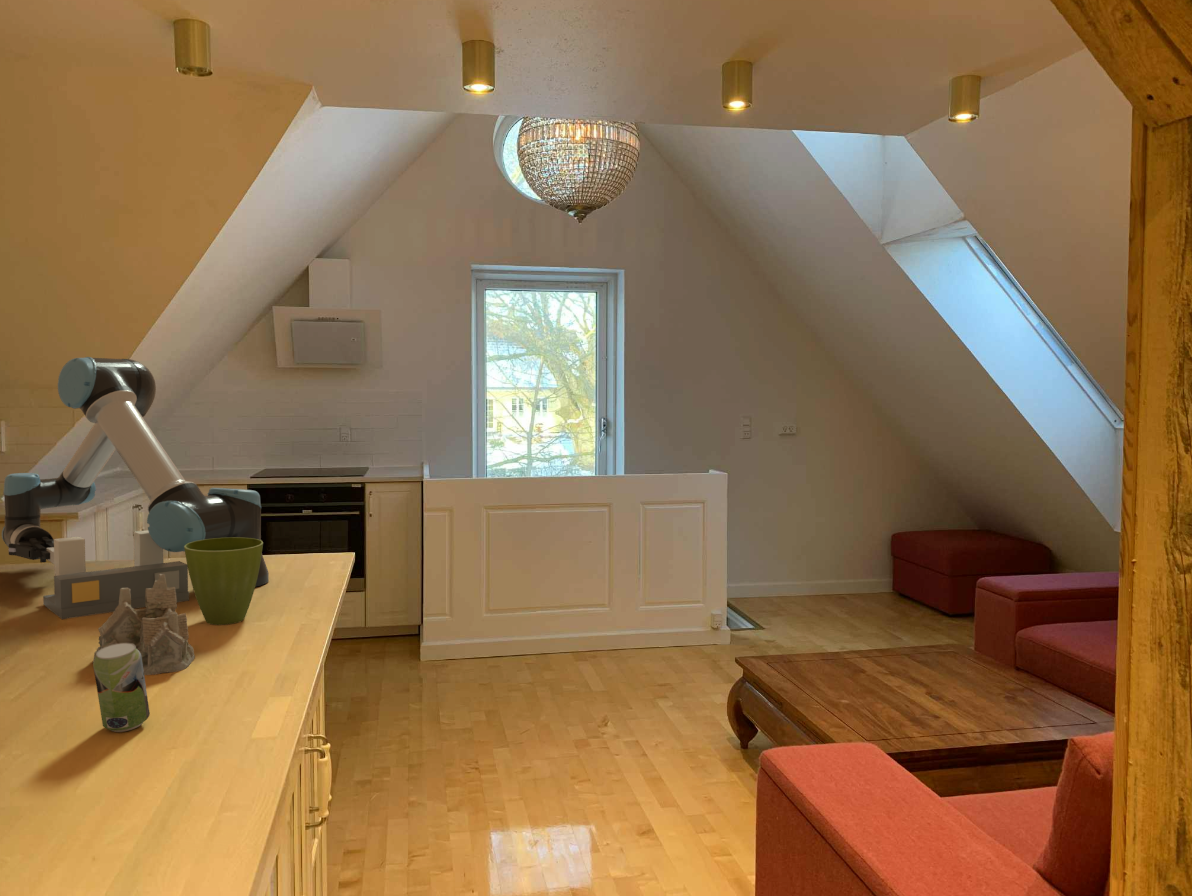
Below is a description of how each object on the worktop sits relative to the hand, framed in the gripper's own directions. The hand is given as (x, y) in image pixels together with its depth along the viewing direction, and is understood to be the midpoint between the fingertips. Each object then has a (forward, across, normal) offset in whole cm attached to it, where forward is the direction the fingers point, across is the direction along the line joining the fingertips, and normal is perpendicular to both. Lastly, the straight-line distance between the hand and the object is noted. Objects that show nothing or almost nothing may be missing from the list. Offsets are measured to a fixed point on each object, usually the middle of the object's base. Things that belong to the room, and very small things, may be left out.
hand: (57, 558), depth 201 cm
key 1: (+10, 0, -6) cm, 12 cm away
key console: (+14, -8, -8) cm, 18 cm away
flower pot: (+43, -20, -8) cm, 48 cm away
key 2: (+10, -16, -6) cm, 20 cm away
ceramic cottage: (+61, +1, -9) cm, 61 cm away
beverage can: (+90, +13, -8) cm, 91 cm away
